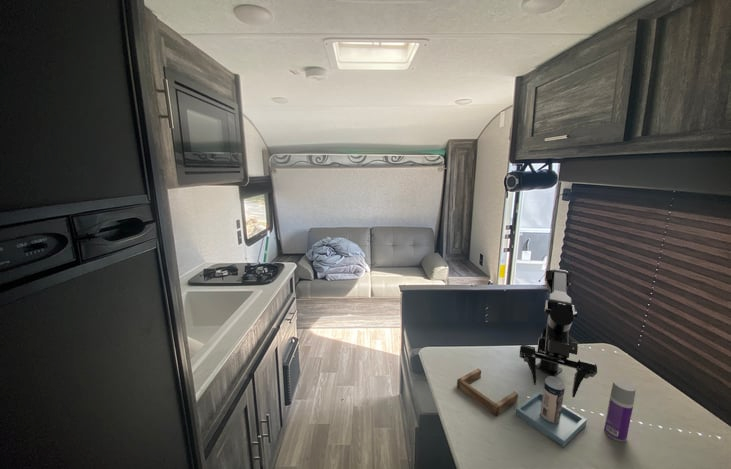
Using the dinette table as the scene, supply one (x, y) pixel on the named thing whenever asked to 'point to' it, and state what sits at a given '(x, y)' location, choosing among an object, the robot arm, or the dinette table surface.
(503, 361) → the dinette table surface
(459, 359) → the dinette table surface
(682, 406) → the dinette table surface
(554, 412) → the beer can
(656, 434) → the dinette table surface
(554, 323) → the robot arm
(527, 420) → the tray
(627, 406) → the container
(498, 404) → the frame
